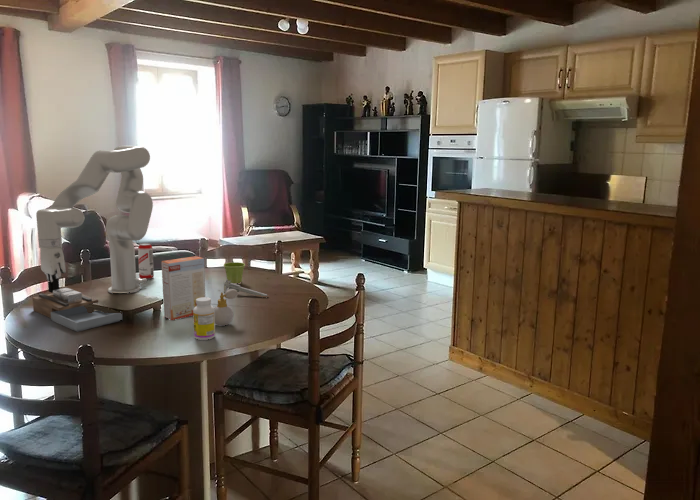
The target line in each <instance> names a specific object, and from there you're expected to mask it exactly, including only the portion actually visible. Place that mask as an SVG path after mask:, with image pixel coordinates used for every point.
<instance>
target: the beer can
mask: <svg viewBox="0 0 700 500" xmlns="http://www.w3.org/2000/svg"><path fill="white" fill-rule="evenodd" d="M138 244H139V245H138V248H137V255H138V256H137V257H138V260H137V261H138V276H139V278H140V279H144V278H146V279H147V281H148V280H152V279H153V278H154V275H155V273H154V272H155V271H154V253H153V246H152V243H150V242H149V243H148V242H142V243H138Z"/></svg>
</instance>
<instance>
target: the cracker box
mask: <svg viewBox="0 0 700 500" xmlns="http://www.w3.org/2000/svg"><path fill="white" fill-rule="evenodd" d="M161 279H162V280H161V281H162V295H163V296H162V298H163V299H162V301H163V314H164V315H163V316H164V318H165V317H166V319H167V318H168V319H167V320H169V319H170V321H175V319H177V320H180V318H181V319H184V318H189V316H190V317H193V309H194V308H195V307H196V306H197V304H196V299H197V298H201V297H206V274H205V258H204V257H200V256H198V255H195V256H189V257H181V258H176V259H175V258H174V259H168V260H161Z"/></svg>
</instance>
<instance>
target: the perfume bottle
mask: <svg viewBox="0 0 700 500" xmlns="http://www.w3.org/2000/svg"><path fill="white" fill-rule="evenodd" d="M238 293H239V292H237V291H236V290H235V289H229V288H228V289H227V291H226V292H225V293H224V292H222V291H221V293H220V295H219V299H218V300H217V305H216V306H215V307H214V311H215V326H218V327H225V325H226V326H228V325H229V324H231V322H233V319H234V311H233V309H232V308H231V307H230V306H229V305H228V303H227V299H228V300H234V299H236V298H237V297H238V295H239V294H238Z"/></svg>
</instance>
